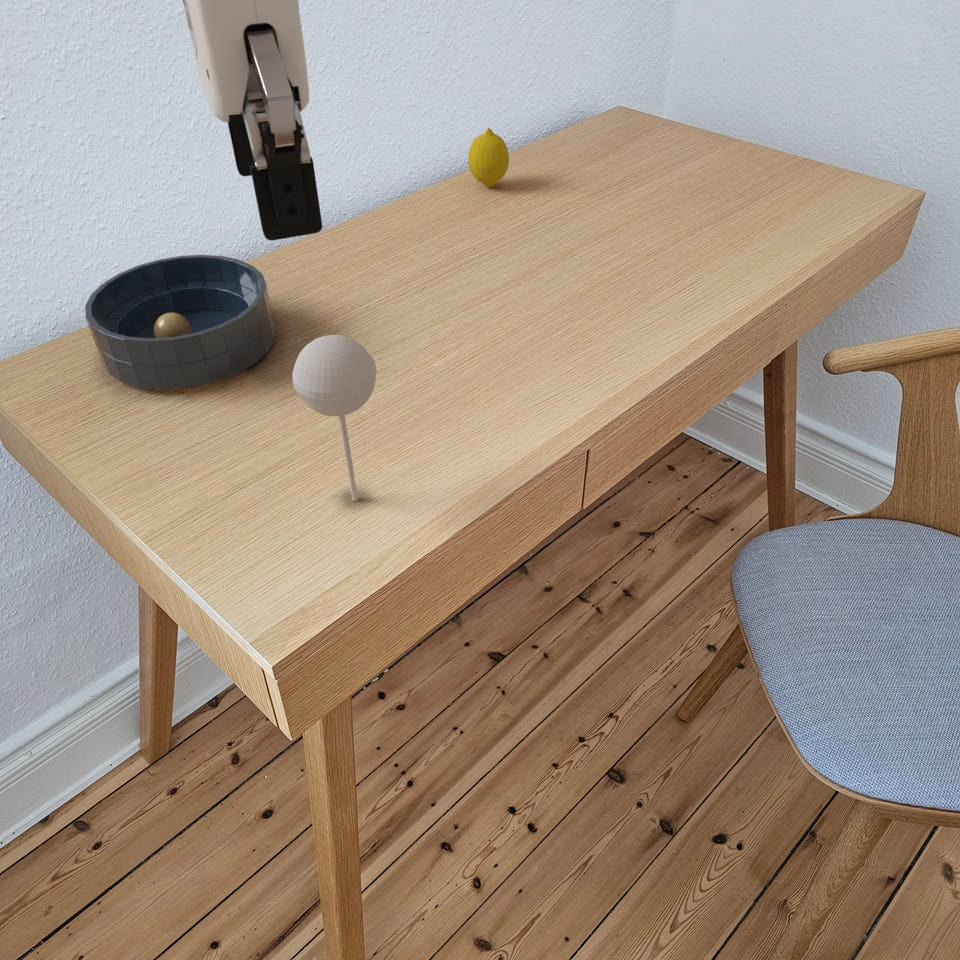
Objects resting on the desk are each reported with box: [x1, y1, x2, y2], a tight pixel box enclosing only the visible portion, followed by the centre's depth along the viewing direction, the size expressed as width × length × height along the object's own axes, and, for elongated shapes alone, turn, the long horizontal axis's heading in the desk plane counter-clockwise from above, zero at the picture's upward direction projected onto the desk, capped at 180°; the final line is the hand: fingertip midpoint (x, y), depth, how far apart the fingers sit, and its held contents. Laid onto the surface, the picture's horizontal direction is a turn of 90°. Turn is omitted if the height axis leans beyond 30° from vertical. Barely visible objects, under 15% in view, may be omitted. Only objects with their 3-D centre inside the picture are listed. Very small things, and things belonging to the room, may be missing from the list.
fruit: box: [467, 127, 510, 188], centre depth 115 cm, size 6×6×8 cm
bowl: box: [84, 254, 277, 391], centre depth 86 cm, size 17×17×6 cm
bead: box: [154, 312, 192, 338], centre depth 85 cm, size 4×4×4 cm
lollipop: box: [291, 334, 377, 502], centre depth 65 cm, size 6×6×15 cm
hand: (278, 201), depth 50 cm, fingers open, 9 cm apart
